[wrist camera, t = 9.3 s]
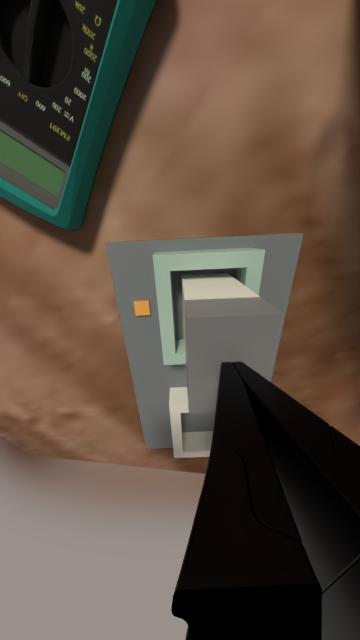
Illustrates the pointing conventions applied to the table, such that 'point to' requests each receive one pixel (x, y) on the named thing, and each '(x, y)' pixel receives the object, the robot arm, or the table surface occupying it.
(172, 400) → the frame
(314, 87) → the table surface
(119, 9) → the digital multimeter
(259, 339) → the plug
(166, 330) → the port
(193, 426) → the panel board
